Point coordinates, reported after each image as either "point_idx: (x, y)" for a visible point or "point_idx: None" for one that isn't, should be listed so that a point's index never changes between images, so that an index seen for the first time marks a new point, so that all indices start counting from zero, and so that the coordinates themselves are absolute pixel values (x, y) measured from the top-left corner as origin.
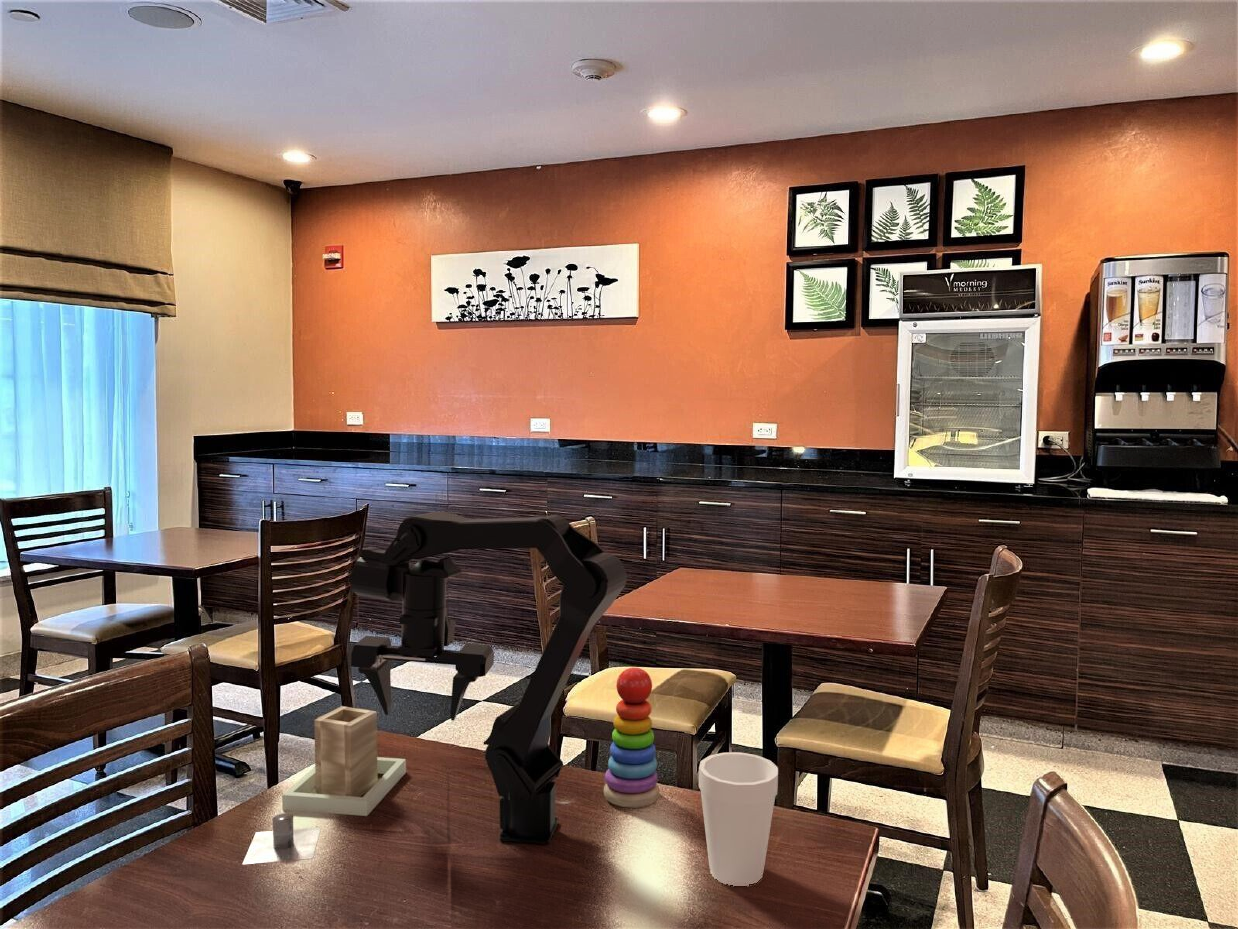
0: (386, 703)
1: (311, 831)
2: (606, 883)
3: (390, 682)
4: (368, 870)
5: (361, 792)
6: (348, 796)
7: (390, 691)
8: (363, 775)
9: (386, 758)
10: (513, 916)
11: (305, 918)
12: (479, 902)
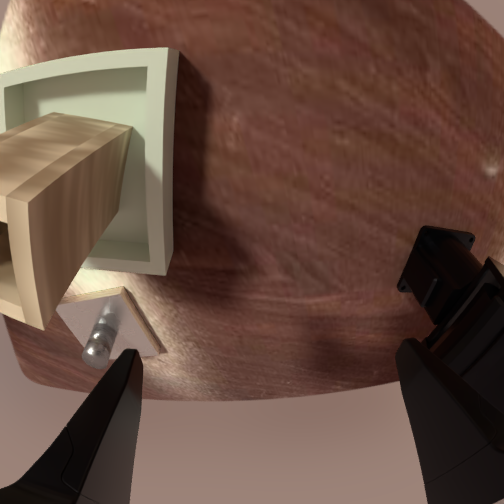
0: (138, 423)
1: (114, 304)
2: None
3: (93, 459)
4: (231, 351)
5: (119, 184)
6: (122, 260)
7: (112, 426)
8: (107, 191)
9: (114, 55)
10: (384, 382)
11: (204, 400)
12: (359, 375)
